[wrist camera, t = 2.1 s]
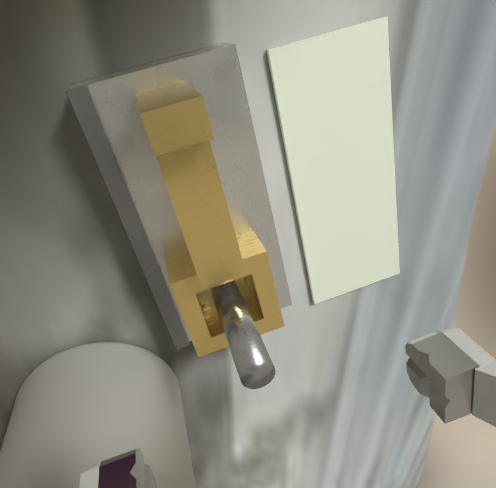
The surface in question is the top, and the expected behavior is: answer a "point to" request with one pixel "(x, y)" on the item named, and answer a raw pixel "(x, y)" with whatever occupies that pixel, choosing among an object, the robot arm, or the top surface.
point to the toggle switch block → (157, 197)
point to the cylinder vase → (96, 418)
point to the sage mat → (340, 154)
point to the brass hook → (203, 218)
